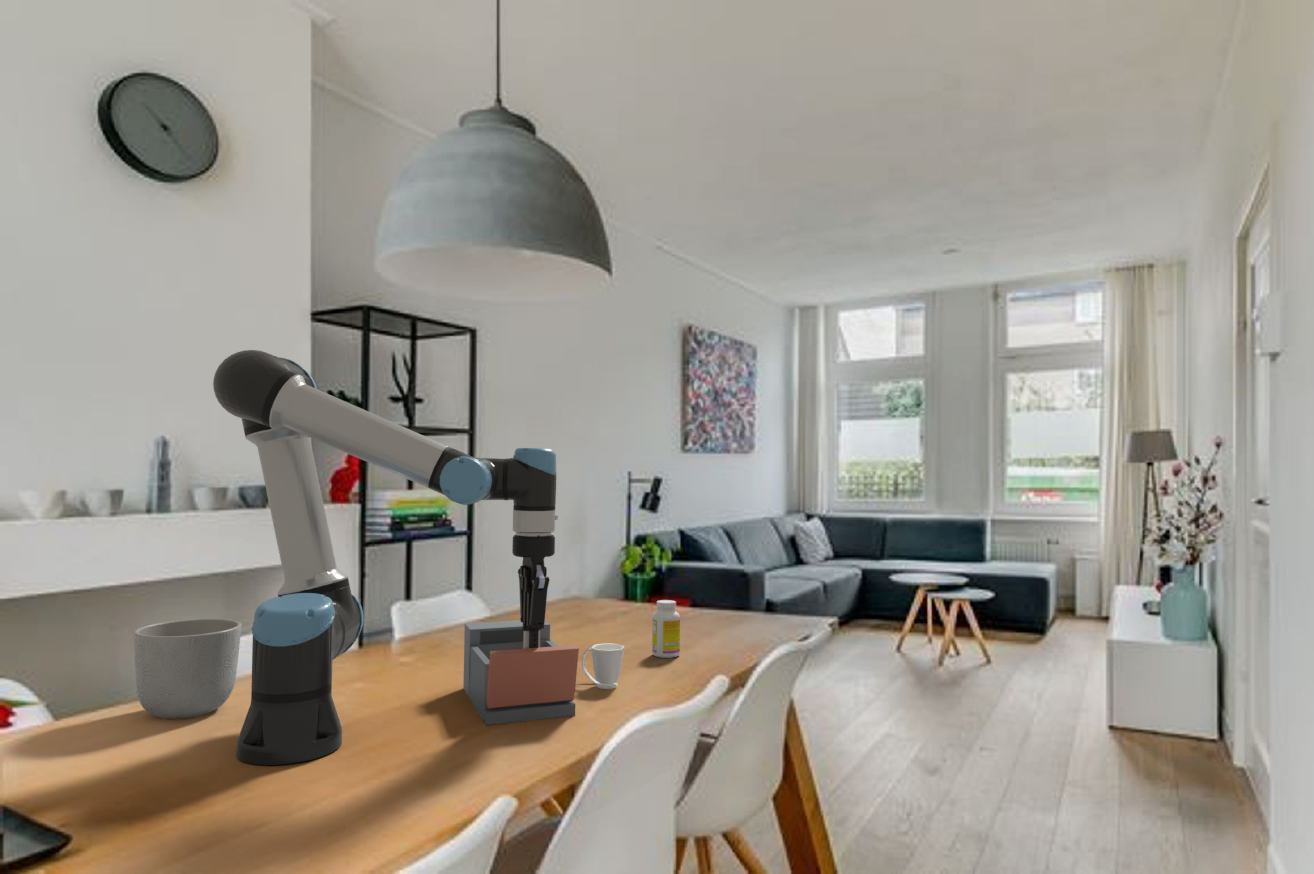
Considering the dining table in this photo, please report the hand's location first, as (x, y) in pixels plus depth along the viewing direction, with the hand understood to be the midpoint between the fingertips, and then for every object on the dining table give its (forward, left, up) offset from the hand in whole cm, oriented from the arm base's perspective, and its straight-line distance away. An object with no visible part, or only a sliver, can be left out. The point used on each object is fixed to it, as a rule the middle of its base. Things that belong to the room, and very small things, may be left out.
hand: (531, 665), depth 145 cm
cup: (+19, +17, -10) cm, 27 cm away
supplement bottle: (+42, +37, -10) cm, 57 cm away
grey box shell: (0, +21, -9) cm, 23 cm away
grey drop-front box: (0, +8, -9) cm, 12 cm away
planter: (-57, +25, -10) cm, 63 cm away
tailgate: (0, 0, -6) cm, 6 cm away
